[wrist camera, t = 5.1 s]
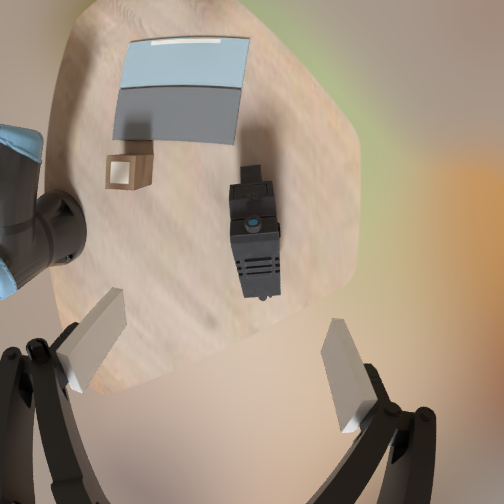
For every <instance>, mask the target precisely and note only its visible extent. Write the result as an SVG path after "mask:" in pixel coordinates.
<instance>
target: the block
mask: <svg viewBox="0 0 504 504" xmlns="http://www.w3.org/2000/svg"><path fill="white" fill-rule="evenodd" d="M153 157H154V155H147V154H120V155H107V163H106V187H105V189H121V190H136V189H139V188H142V187H145V186H148V185H151V184H152V169H153Z"/></svg>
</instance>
